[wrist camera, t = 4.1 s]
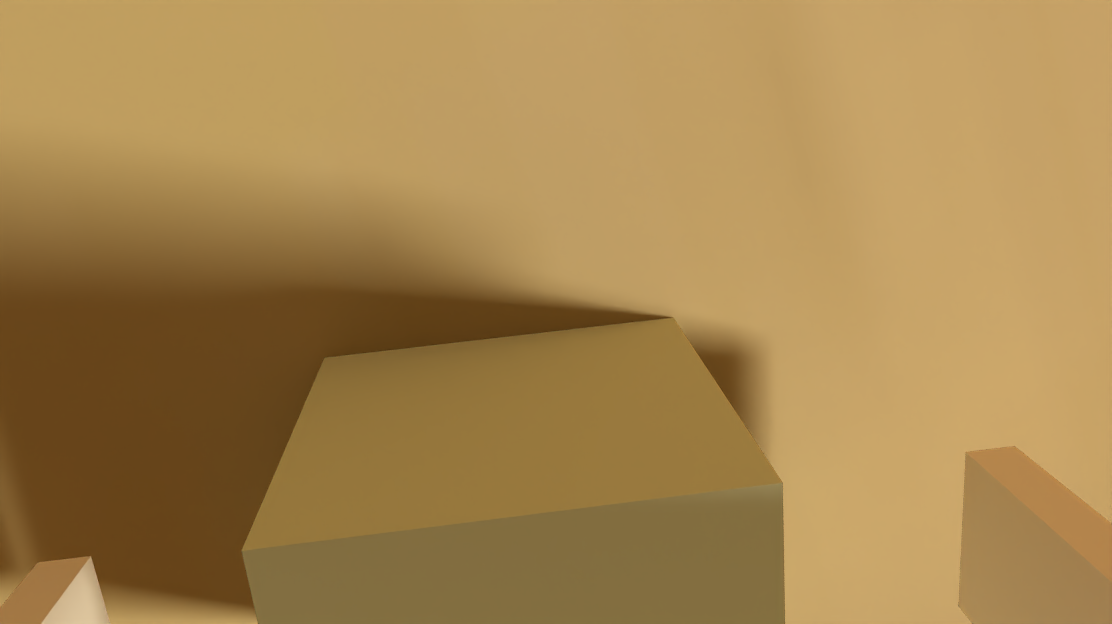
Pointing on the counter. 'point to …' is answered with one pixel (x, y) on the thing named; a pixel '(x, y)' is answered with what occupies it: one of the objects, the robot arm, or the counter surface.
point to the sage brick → (521, 489)
